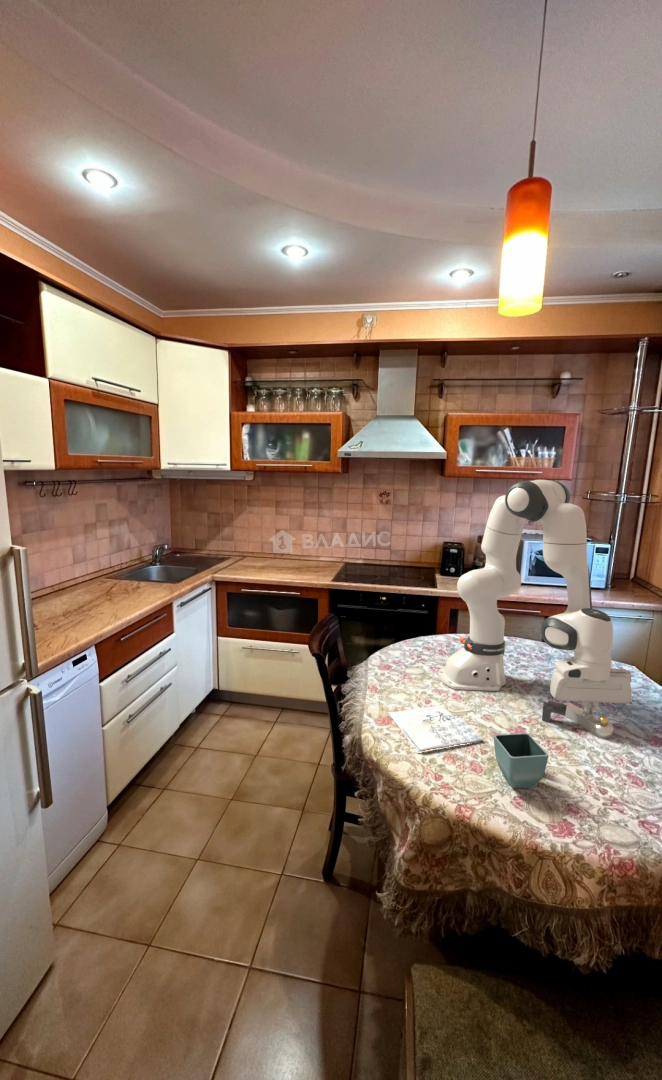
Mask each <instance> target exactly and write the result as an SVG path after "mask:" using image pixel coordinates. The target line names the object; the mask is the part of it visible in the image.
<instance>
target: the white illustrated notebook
mask: <svg viewBox="0 0 662 1080" xmlns="http://www.w3.org/2000/svg"><path fill="white" fill-rule="evenodd" d="M387 715H388V717H389V718H390V717H391V718H392V719H393V720H392V719H391V718H390V719H391V720H392V721H393V723H395V725H396V724H397V725H398V726H397V725H396V726H397V727H398V729H399V728H400V729H401V730H400V729H399V730H400V731H402V732H403V733H402V732H401V733H402V734H403V736H404V735H405V736H406V737H405V736H404V737H405V739H406V738H407V739H408V740H409V741H410V743H411V744H412V745H414V746H415V747H416V749H417V751H425V750H430V749H436V748H443V747H449V746H454V745H460V744H467V743H470V744H469V745H472V744H471V743H474V744H477V743H476V742H479V743H481V741H483V740H484V738H483V737H481V735H480V734H478V733H477V732H476V731H475V730H474V729H473V728H472V727H471V726H470V725H469V724H468V723H467V721H465V720H464V719H463V717H461V716H459V717H455V716H454V715H453V714H452V713H451V712H450V711H449V710H448V709H447V708H446V707H445V706H444V705H442V704H439V705H433V706H429V707H422V708H413V709H406V710H400V711H399V710H398V711H388V712H387ZM426 720H428V721H429V720H430V721H431V720H432V721H433V720H438V721H440V722H441V723H436V724H432V723H430V724H428V725H424V726H418V725H422V723H423V721H424V722H426ZM416 726H417V727H416ZM407 739H406V740H407ZM408 740H407V741H408ZM409 741H408V742H409ZM410 743H409V744H410ZM411 744H410V745H411Z"/></svg>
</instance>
